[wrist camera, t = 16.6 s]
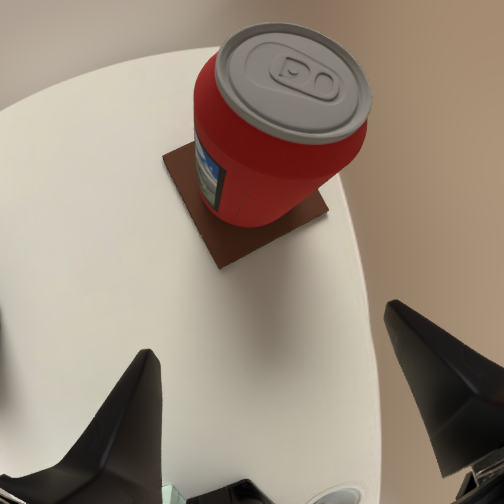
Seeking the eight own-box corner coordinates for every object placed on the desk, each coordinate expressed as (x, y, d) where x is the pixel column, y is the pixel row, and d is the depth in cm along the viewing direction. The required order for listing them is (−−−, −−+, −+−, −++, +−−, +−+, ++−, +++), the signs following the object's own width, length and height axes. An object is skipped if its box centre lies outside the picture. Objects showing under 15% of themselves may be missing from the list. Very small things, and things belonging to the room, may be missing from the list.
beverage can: (217, 128, 19) (236, -4, 8) (303, 159, 20) (392, 59, 8) (183, 211, 18) (152, 114, 7) (277, 244, 19) (378, 198, 7)
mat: (327, 211, 21) (329, 210, 20) (219, 269, 19) (219, 269, 19) (269, 113, 21) (270, 111, 20) (162, 157, 19) (161, 155, 19)
